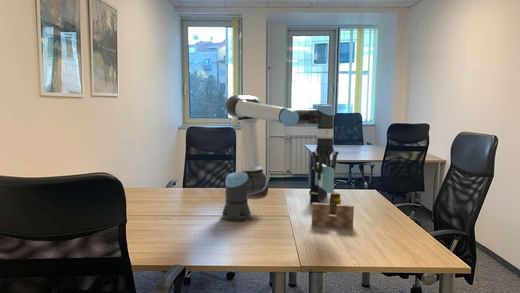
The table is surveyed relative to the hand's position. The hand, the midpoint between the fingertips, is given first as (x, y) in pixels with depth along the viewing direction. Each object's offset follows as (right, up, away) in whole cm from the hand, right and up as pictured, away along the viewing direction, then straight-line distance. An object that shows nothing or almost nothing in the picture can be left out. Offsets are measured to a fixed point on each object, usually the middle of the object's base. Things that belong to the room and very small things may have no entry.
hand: (323, 186), depth 183 cm
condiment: (+10, -19, +26) cm, 34 cm away
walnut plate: (+5, -21, +7) cm, 22 cm away
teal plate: (0, -1, 0) cm, 1 cm away
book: (+7, -15, +62) cm, 64 cm away
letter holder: (-36, -13, +76) cm, 85 cm away
